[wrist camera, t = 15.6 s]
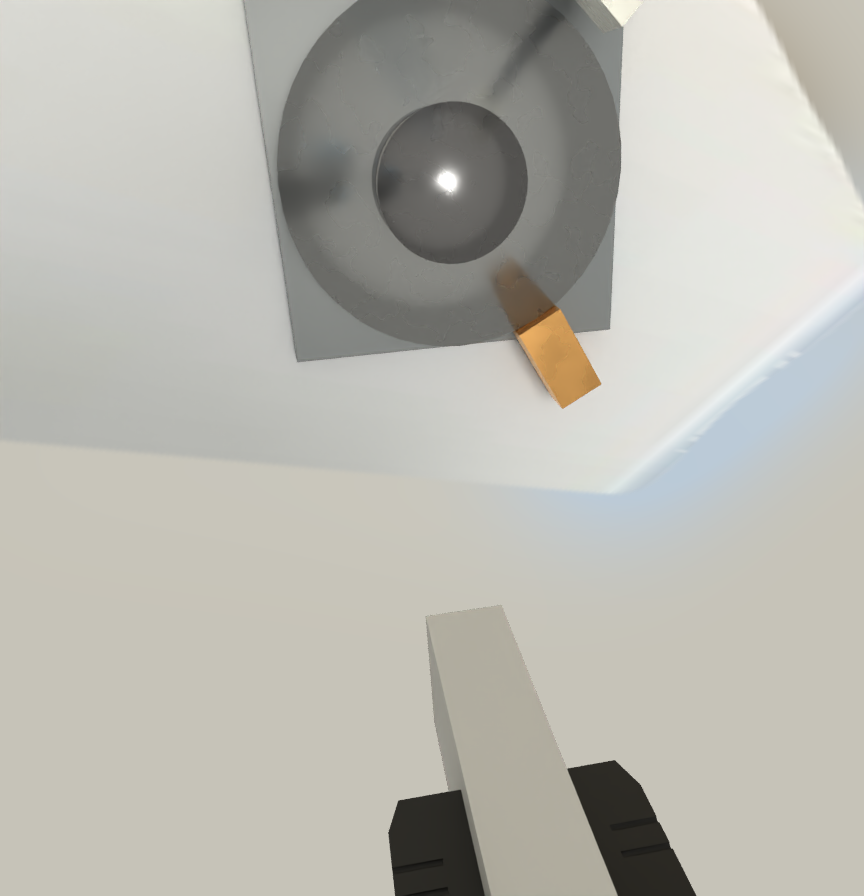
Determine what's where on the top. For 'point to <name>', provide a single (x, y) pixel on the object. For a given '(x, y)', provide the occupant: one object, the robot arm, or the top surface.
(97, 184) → the top surface
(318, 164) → the turntable
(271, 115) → the base plate
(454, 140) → the dark grey bowl
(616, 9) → the post
